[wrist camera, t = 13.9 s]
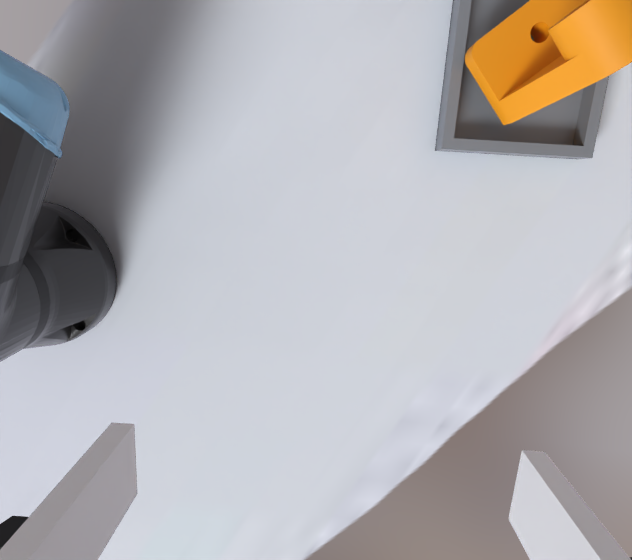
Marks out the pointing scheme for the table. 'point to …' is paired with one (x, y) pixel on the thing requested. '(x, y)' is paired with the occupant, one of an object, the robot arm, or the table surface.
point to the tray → (480, 118)
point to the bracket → (550, 53)
